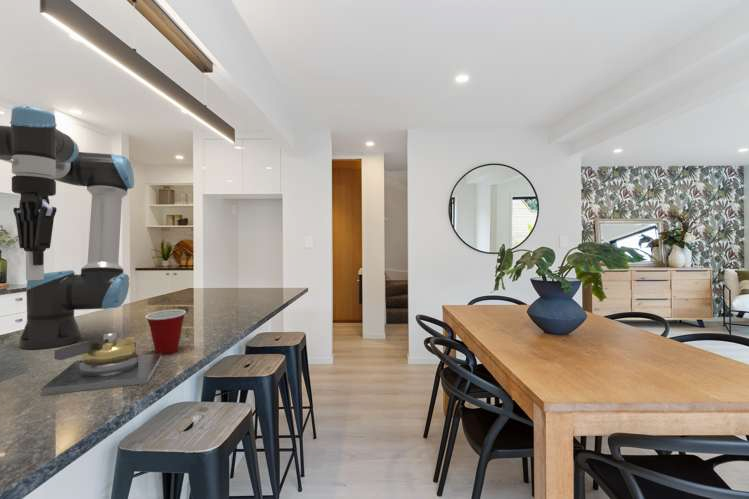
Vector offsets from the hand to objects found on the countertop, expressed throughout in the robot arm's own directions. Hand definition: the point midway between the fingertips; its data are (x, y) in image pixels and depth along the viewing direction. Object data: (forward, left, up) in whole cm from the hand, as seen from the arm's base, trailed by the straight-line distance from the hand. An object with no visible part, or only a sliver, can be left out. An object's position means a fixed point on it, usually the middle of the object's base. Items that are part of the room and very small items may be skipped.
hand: (35, 279), depth 86 cm
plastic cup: (-19, +24, -25) cm, 39 cm away
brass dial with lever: (+1, +12, -20) cm, 23 cm away
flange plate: (-2, +14, -24) cm, 28 cm away
